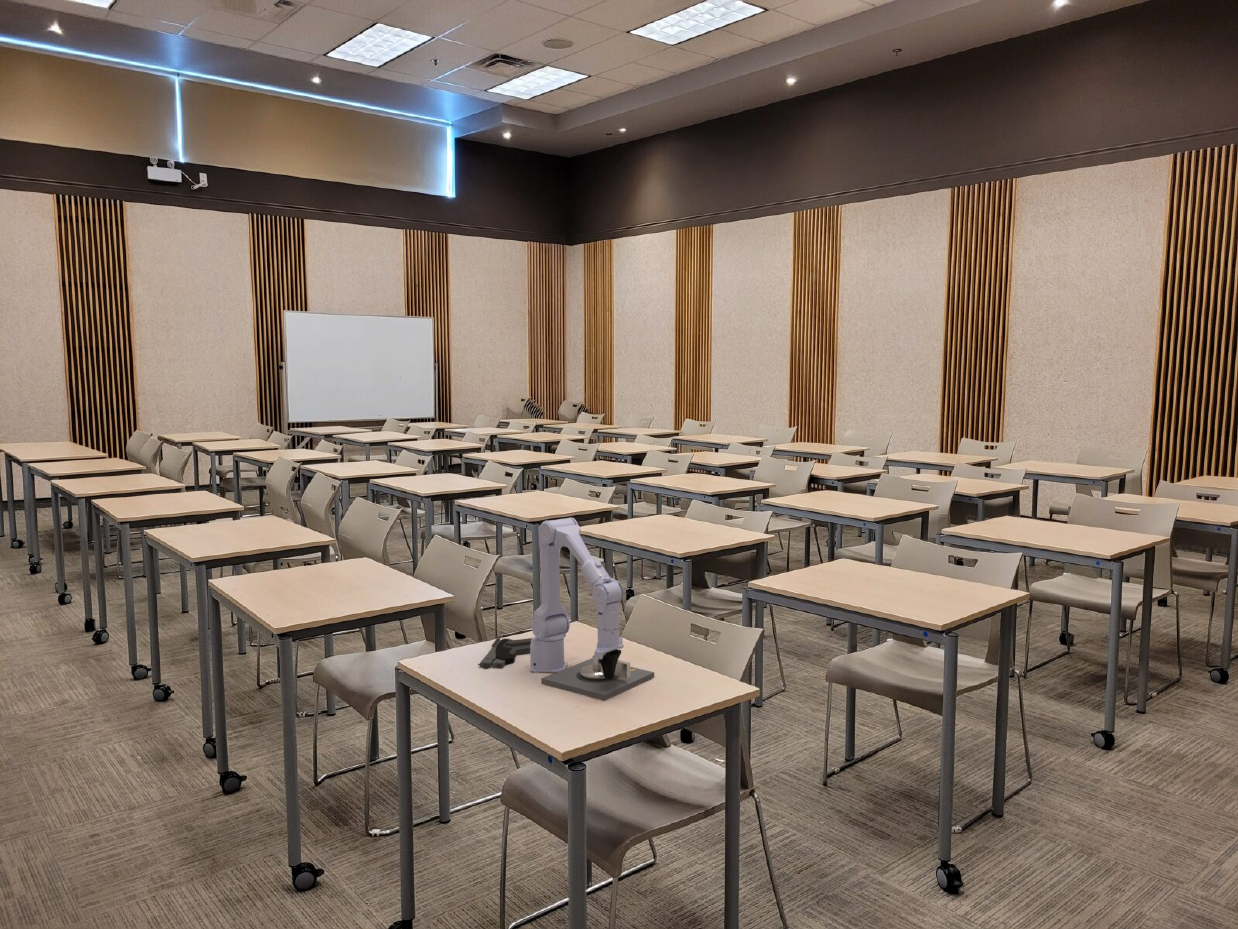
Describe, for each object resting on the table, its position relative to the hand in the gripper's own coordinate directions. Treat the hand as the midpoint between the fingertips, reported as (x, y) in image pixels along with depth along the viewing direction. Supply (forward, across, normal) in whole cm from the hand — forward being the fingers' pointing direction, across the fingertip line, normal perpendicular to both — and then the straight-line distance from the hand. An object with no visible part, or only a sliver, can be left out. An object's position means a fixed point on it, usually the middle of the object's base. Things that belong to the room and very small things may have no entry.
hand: (609, 678), depth 232 cm
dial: (+2, +6, +3) cm, 7 cm away
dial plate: (+4, +7, +6) cm, 10 cm away
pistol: (+4, +18, +39) cm, 44 cm away
